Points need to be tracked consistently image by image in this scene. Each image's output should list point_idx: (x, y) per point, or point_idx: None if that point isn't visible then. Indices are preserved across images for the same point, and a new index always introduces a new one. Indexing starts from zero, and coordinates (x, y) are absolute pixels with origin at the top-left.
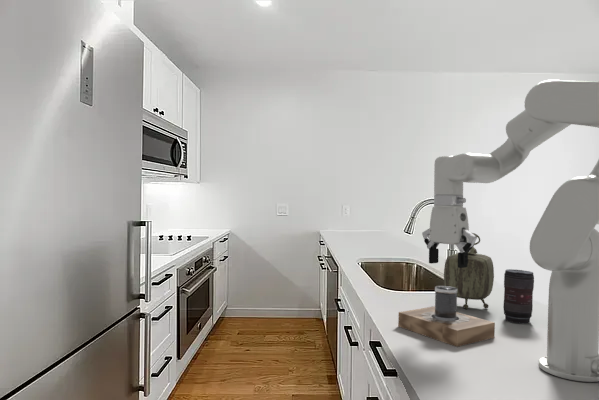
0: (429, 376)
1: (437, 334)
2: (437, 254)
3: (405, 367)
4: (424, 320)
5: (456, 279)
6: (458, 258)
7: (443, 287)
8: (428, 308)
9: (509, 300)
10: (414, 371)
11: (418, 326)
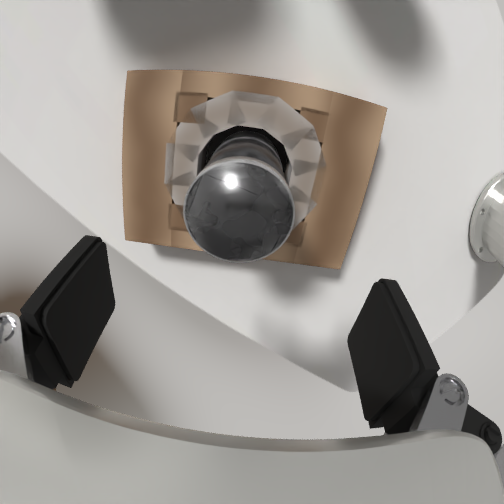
0: (346, 368)
1: None
2: (72, 291)
3: (309, 370)
4: None
5: None
6: (364, 389)
7: (222, 215)
8: (134, 119)
9: None
10: (324, 370)
11: None
